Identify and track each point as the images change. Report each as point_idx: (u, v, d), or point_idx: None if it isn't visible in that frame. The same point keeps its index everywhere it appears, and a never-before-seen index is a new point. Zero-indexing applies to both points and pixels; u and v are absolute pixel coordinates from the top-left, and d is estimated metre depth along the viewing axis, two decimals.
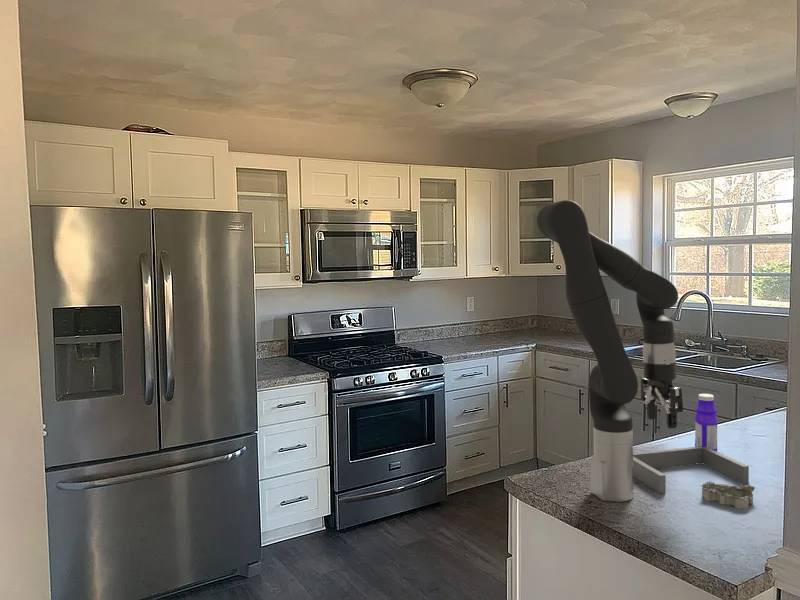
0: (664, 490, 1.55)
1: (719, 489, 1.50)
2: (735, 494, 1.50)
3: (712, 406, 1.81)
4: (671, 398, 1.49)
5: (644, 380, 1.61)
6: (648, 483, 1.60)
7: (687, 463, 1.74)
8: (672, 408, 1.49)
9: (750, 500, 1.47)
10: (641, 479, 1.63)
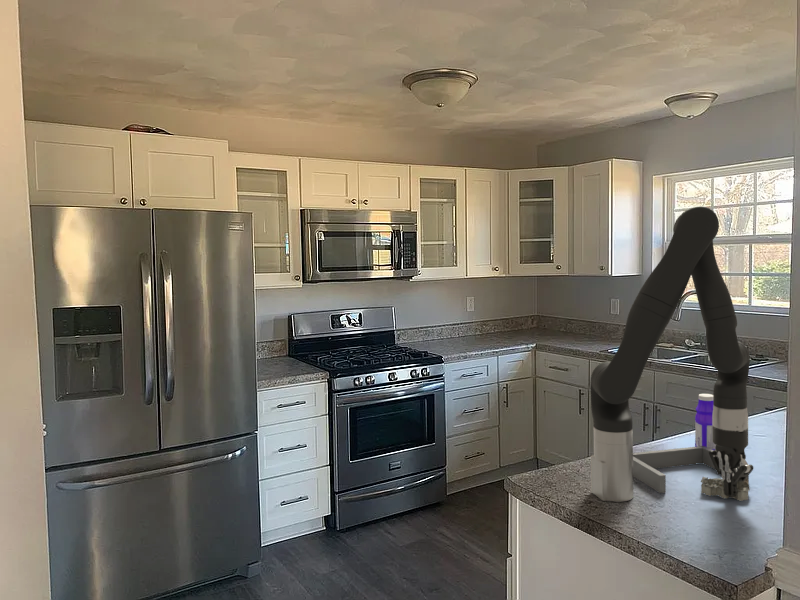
0: (664, 490, 1.55)
1: (718, 484, 1.53)
2: None
3: (712, 406, 1.81)
4: (739, 473, 1.43)
5: (712, 451, 1.52)
6: (648, 483, 1.60)
7: (687, 463, 1.74)
8: (734, 478, 1.45)
9: None
10: (641, 479, 1.63)
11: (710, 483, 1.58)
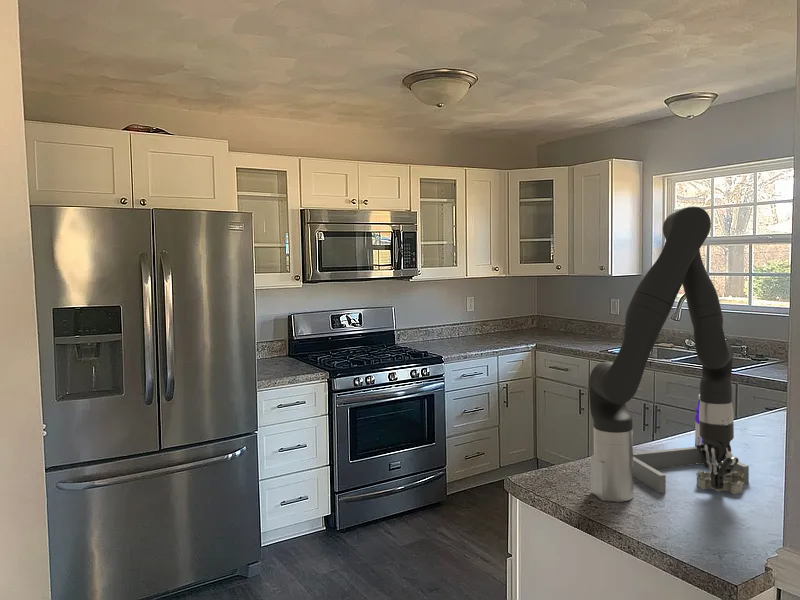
0: (664, 490, 1.55)
1: None
2: (725, 480, 1.59)
3: None
4: (725, 465, 1.48)
5: (700, 445, 1.58)
6: (648, 483, 1.60)
7: (687, 463, 1.74)
8: (720, 471, 1.50)
9: (741, 485, 1.56)
10: (641, 479, 1.63)
11: (706, 476, 1.62)
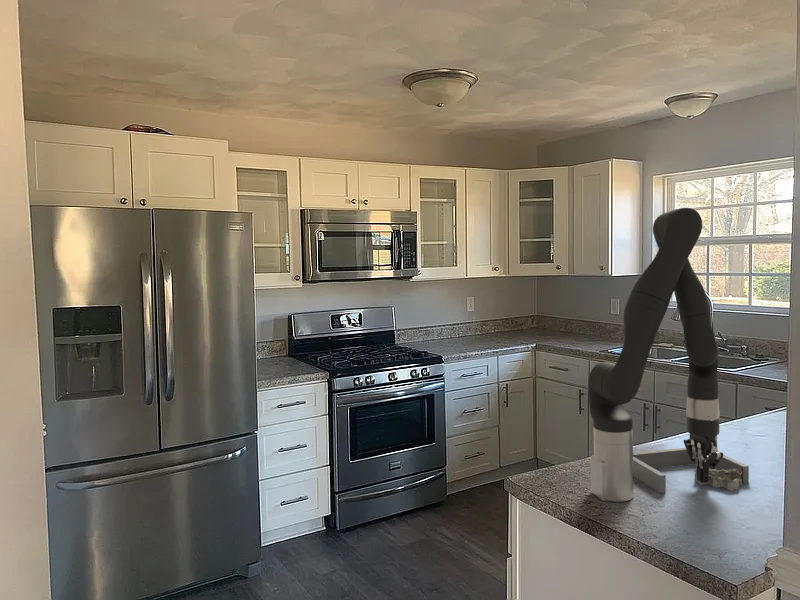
0: (664, 490, 1.55)
1: (710, 474, 1.60)
2: (724, 477, 1.62)
3: None
4: (710, 459, 1.53)
5: (686, 440, 1.62)
6: (648, 483, 1.60)
7: (687, 463, 1.74)
8: (706, 465, 1.54)
9: (739, 482, 1.58)
10: (641, 479, 1.63)
11: None
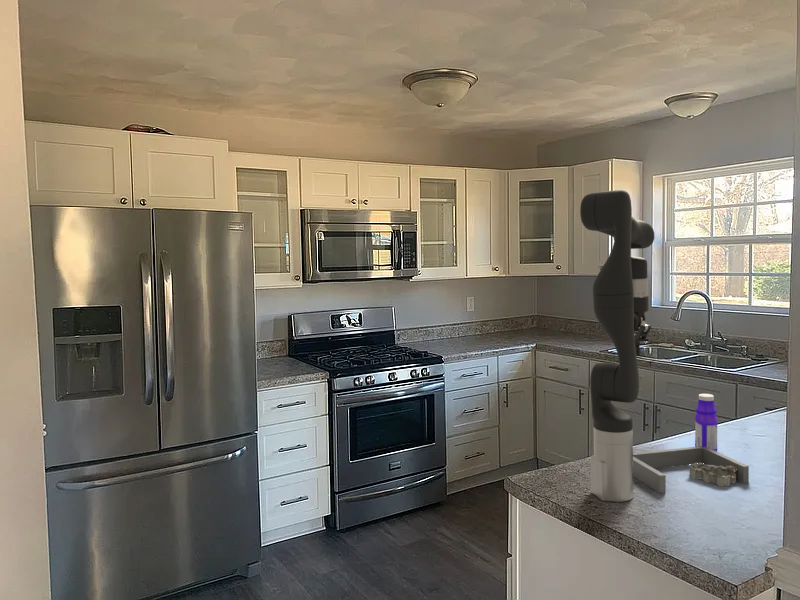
0: (664, 490, 1.55)
1: (705, 469, 1.64)
2: (720, 474, 1.64)
3: (712, 406, 1.81)
4: (639, 332, 1.70)
5: None
6: (648, 483, 1.60)
7: (687, 463, 1.74)
8: (636, 338, 1.72)
9: (733, 479, 1.60)
10: (641, 479, 1.63)
11: None
